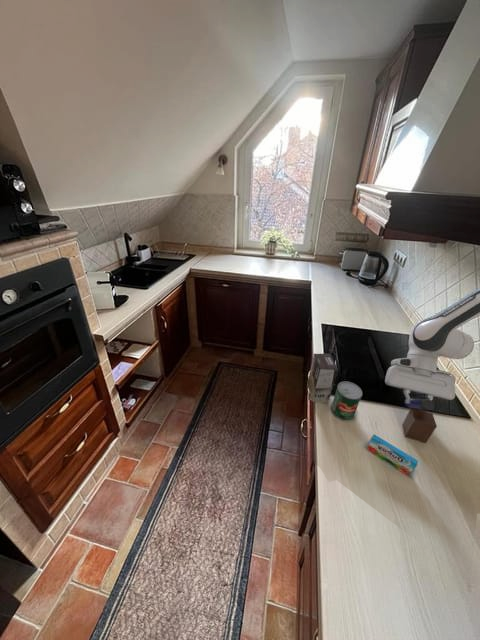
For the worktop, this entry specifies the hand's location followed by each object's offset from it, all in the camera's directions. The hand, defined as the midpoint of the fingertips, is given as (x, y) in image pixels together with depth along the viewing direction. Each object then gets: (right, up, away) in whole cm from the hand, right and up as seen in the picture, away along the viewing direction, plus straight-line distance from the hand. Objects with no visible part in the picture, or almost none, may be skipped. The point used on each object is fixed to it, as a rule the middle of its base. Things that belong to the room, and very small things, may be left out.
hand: (416, 405), depth 86 cm
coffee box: (-30, +1, +12) cm, 32 cm away
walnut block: (-3, -8, -2) cm, 9 cm away
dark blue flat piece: (0, -4, +3) cm, 5 cm away
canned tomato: (-23, -4, +5) cm, 24 cm away
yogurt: (-16, -13, -10) cm, 23 cm away
